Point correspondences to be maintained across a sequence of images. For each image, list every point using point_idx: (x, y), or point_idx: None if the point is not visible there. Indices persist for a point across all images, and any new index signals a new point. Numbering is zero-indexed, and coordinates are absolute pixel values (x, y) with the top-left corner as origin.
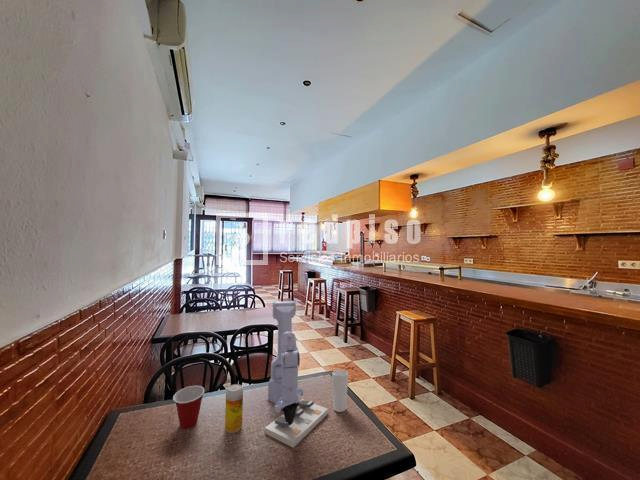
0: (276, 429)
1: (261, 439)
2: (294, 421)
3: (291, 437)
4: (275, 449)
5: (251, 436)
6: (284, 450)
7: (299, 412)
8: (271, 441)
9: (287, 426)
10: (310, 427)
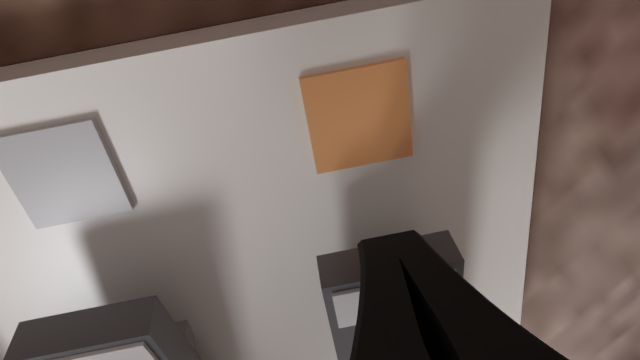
0: None
1: (565, 288)
2: (223, 278)
3: (491, 71)
4: (624, 107)
5: (573, 352)
6: (596, 20)
7: (118, 349)
8: (544, 219)
9: (448, 237)
10: (86, 58)
